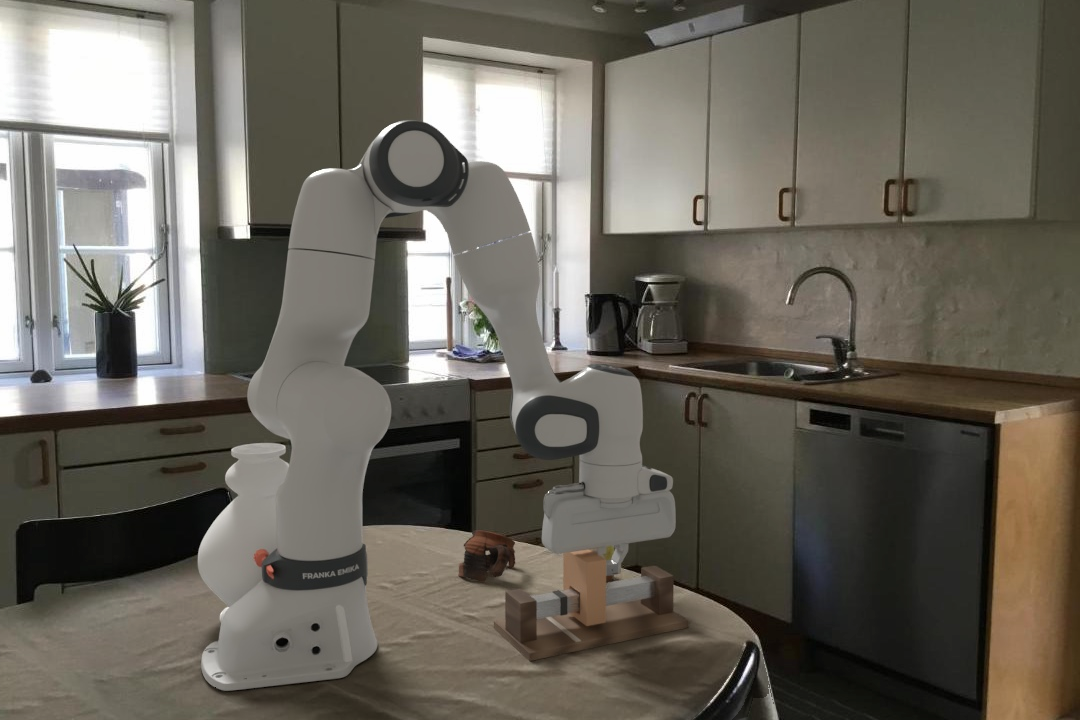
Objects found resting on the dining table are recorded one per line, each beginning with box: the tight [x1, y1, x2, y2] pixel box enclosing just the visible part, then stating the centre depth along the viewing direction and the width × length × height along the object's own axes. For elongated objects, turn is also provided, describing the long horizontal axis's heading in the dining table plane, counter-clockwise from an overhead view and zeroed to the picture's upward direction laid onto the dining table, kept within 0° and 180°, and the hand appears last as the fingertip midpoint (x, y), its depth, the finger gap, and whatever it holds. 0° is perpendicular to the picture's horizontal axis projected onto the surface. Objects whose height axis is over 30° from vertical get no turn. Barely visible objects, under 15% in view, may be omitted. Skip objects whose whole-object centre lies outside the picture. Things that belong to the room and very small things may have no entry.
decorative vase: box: [197, 442, 290, 624], centre depth 135 cm, size 18×18×25 cm
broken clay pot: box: [458, 529, 516, 583], centre depth 154 cm, size 12×10×8 cm
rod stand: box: [493, 564, 690, 662], centre depth 132 cm, size 25×12×6 cm, turn 116°
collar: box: [562, 549, 606, 626], centre depth 131 cm, size 3×7×9 cm, turn 26°
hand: (609, 574), depth 133 cm, fingers closed
